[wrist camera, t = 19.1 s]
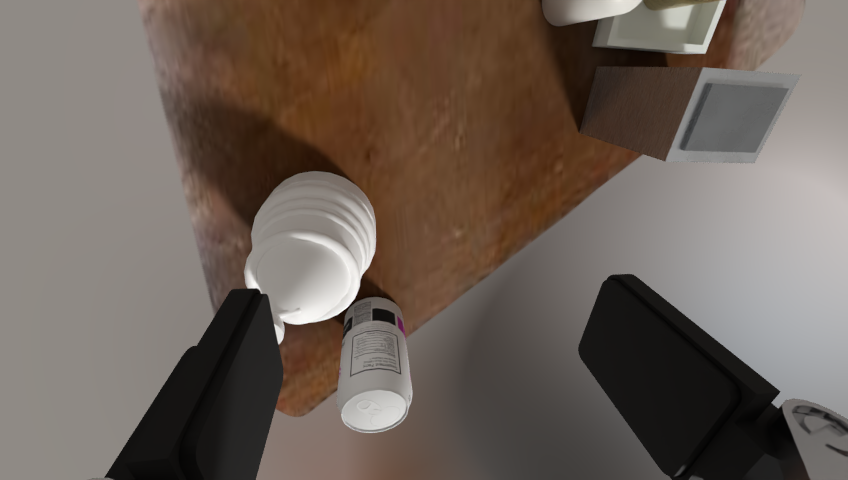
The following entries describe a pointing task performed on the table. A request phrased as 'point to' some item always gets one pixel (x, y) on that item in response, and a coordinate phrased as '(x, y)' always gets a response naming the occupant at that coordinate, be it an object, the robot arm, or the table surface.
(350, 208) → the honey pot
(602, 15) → the cylinder
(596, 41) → the tray
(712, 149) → the grey box
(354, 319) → the supplement can
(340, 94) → the table surface
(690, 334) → the robot arm
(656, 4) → the cylinder
